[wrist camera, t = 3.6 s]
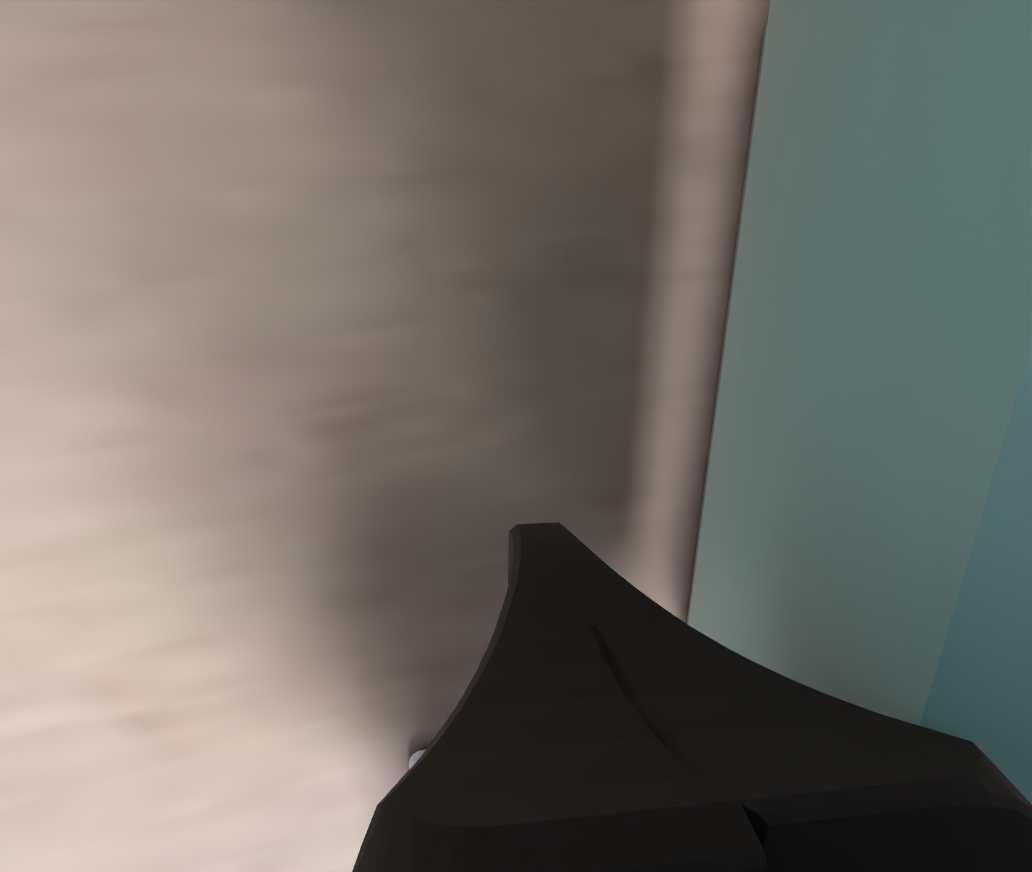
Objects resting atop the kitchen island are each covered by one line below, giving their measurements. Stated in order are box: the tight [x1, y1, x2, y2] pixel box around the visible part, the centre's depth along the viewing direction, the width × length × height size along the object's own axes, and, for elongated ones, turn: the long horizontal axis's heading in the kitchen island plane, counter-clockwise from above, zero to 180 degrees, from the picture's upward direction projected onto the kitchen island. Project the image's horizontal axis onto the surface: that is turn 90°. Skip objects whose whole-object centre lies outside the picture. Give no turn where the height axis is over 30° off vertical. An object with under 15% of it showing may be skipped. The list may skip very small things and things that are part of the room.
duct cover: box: [688, 0, 1032, 804], centre depth 12 cm, size 18×11×1 cm
